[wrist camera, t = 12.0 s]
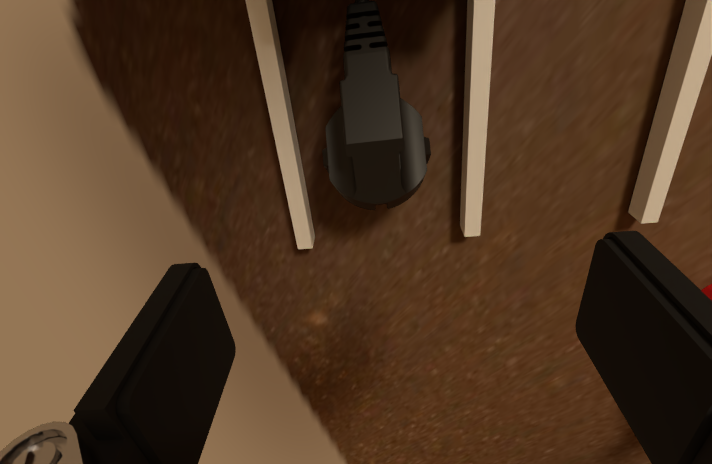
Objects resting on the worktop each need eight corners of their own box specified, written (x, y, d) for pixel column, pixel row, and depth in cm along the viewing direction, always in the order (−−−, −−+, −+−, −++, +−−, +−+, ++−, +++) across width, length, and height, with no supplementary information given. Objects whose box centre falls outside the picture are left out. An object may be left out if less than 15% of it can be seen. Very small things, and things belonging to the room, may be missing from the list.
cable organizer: (241, -58, 20) (214, -68, 16) (742, -124, 18) (830, -150, 15) (301, 237, 28) (292, 271, 25) (643, 211, 27) (684, 243, 23)
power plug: (416, -65, 19) (442, 189, 18) (409, 28, 26) (427, 211, 25) (297, -48, 19) (316, 202, 18) (323, 39, 27) (338, 219, 26)
